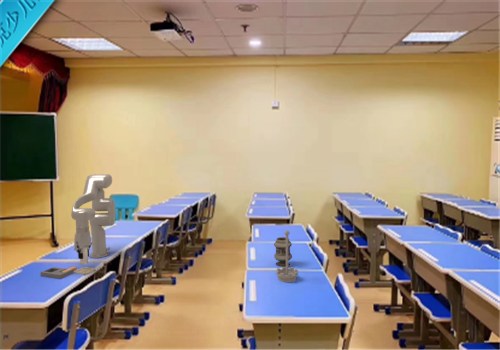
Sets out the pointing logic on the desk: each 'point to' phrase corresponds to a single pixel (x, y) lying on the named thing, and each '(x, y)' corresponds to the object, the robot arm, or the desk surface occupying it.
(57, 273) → the grey holder base
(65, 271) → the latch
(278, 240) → the apothecary jar
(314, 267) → the desk surface
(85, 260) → the cylinder
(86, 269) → the tray
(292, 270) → the flag stand
